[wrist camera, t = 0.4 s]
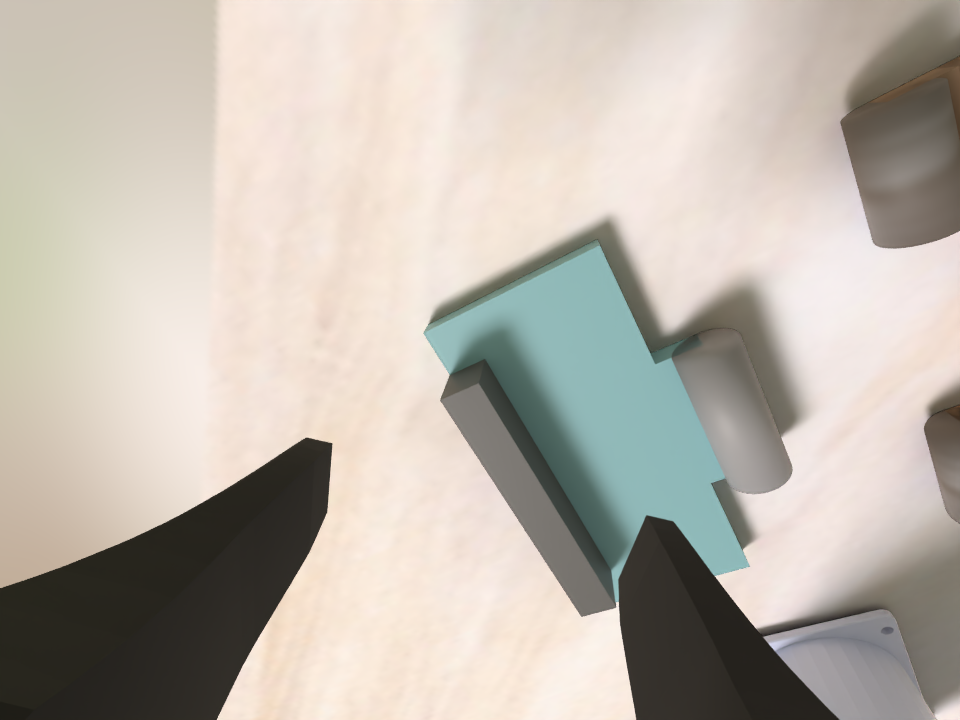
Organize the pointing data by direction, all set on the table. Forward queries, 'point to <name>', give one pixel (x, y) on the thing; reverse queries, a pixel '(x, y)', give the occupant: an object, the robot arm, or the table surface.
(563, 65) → the table surface
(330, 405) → the table surface
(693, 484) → the teal hinge plate
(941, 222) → the fixed leaf
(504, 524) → the table surface
